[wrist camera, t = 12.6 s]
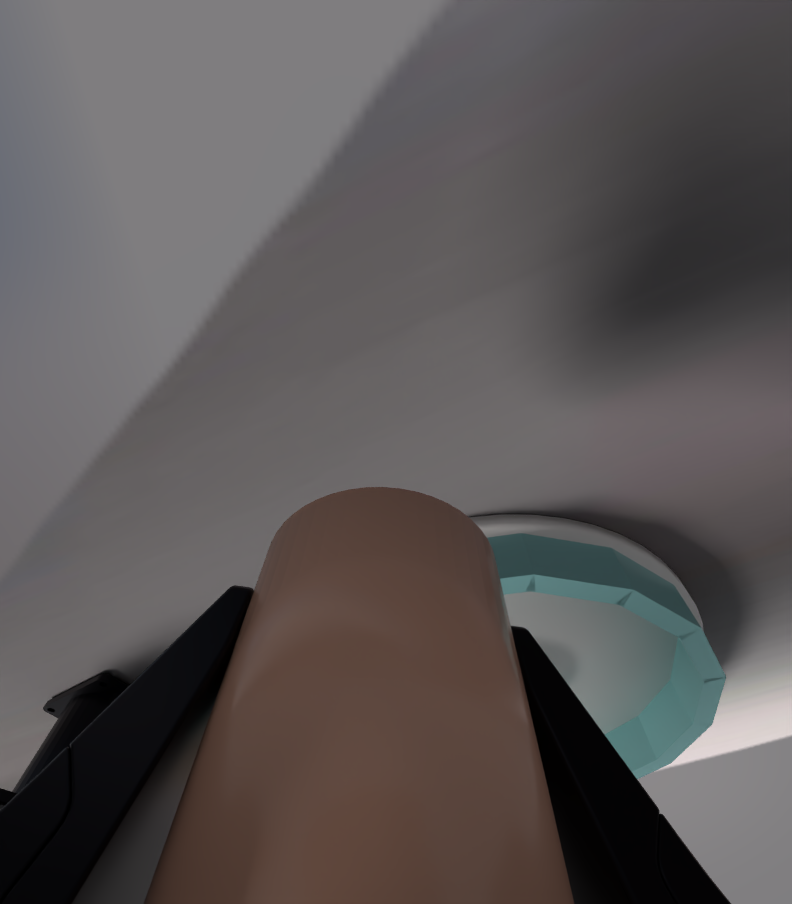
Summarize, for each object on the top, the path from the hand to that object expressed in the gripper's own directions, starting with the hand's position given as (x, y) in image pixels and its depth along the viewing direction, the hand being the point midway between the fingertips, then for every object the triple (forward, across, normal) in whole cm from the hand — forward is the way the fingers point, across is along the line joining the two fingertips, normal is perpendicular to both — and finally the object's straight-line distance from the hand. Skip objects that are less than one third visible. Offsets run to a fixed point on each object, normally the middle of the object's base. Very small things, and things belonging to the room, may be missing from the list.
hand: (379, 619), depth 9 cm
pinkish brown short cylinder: (+1, 0, 0) cm, 1 cm away
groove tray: (+11, -9, +16) cm, 22 cm away
